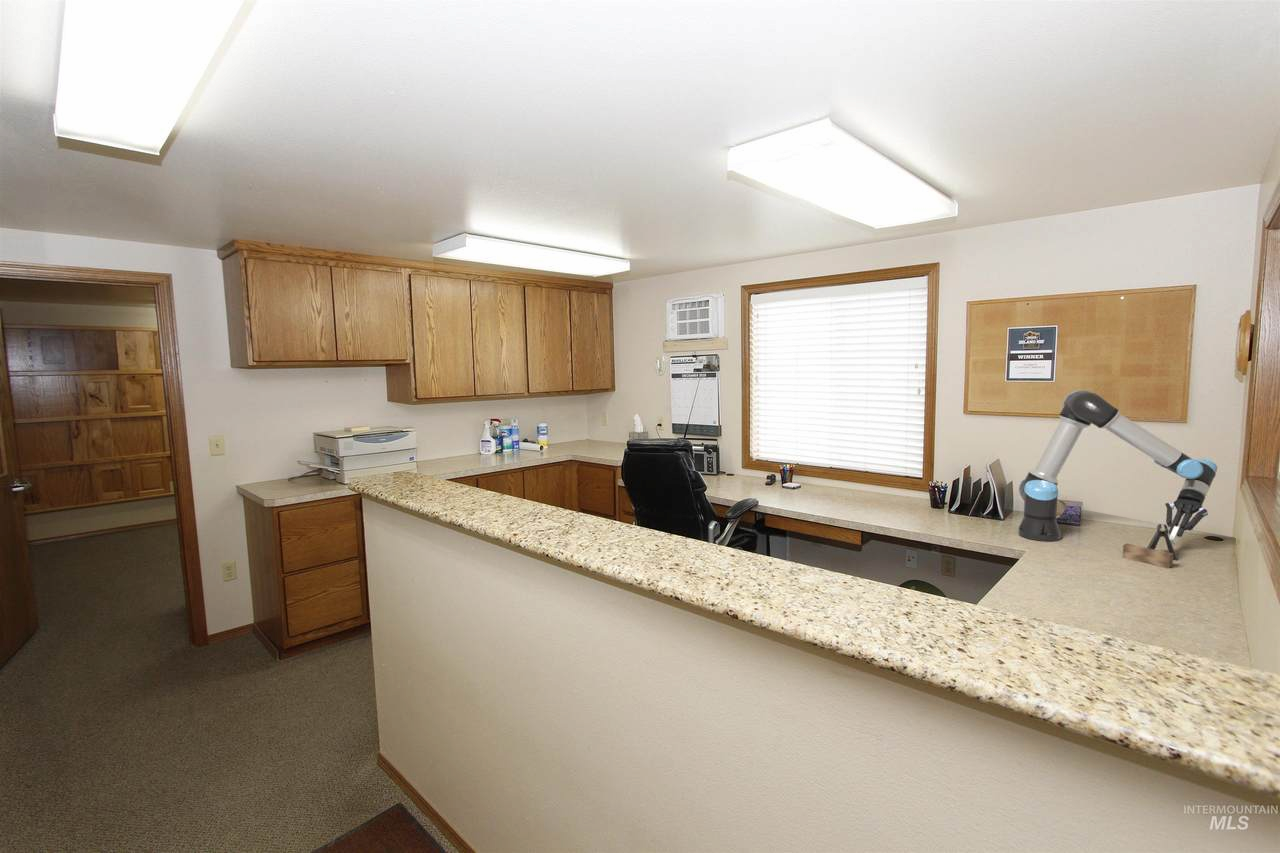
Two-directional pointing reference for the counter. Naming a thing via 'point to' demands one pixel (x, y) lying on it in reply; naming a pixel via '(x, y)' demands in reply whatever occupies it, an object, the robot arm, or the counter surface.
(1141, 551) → the block
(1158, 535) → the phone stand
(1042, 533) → the robot arm
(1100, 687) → the counter surface
